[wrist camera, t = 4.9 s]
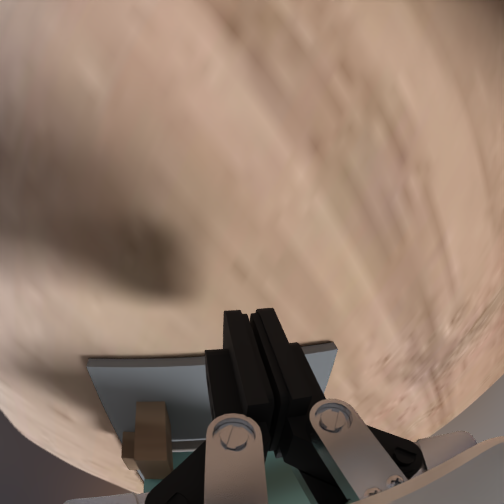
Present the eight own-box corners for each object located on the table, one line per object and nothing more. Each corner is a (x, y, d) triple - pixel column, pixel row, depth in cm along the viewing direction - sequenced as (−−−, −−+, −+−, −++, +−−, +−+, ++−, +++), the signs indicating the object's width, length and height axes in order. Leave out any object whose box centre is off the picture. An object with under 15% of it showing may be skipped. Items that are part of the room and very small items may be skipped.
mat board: (288, 475, 24) (290, 480, 24) (151, 487, 22) (151, 493, 21) (333, 342, 16) (337, 349, 16) (88, 358, 14) (86, 366, 13)
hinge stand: (302, 423, 20) (321, 473, 16) (129, 437, 17) (128, 493, 13) (316, 377, 17) (343, 435, 14) (110, 393, 15) (102, 458, 11)
